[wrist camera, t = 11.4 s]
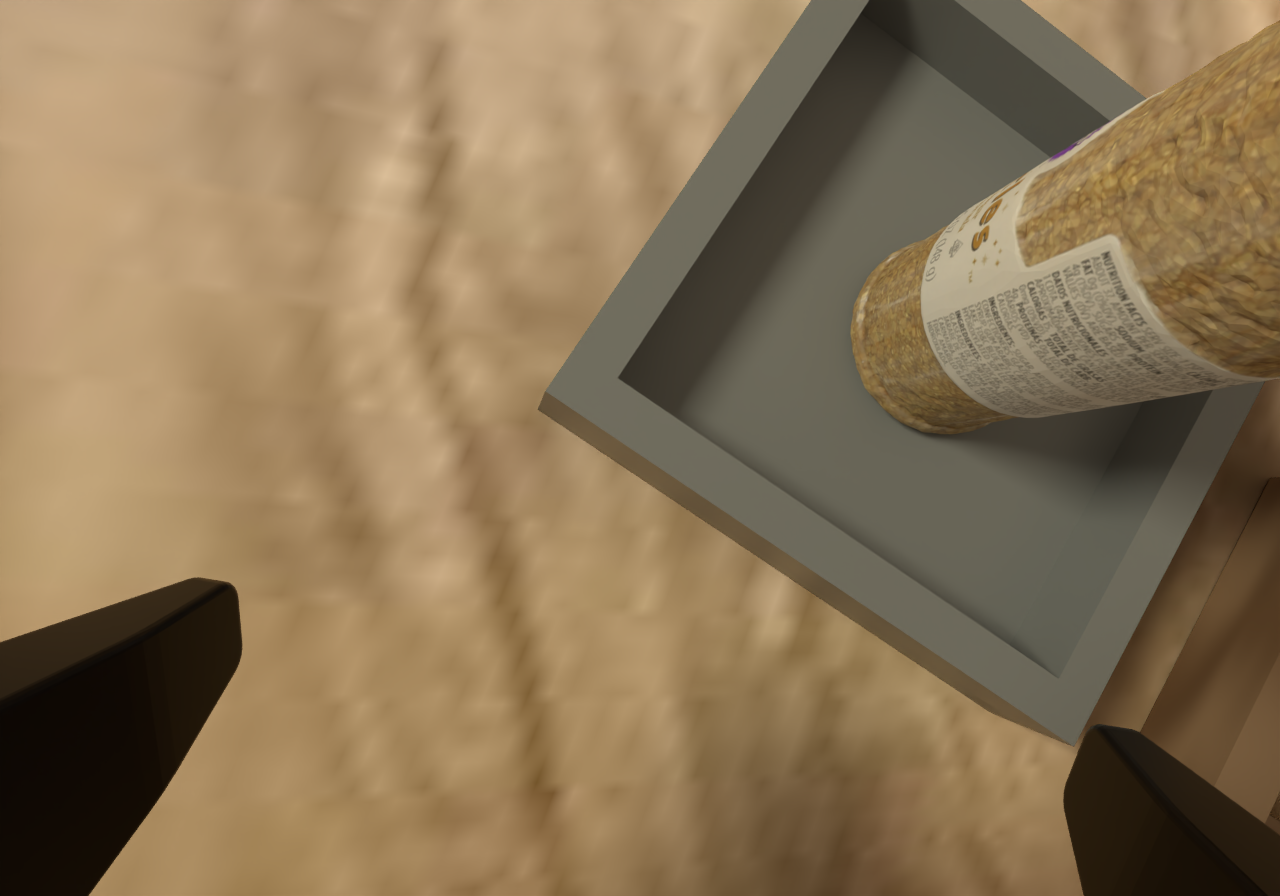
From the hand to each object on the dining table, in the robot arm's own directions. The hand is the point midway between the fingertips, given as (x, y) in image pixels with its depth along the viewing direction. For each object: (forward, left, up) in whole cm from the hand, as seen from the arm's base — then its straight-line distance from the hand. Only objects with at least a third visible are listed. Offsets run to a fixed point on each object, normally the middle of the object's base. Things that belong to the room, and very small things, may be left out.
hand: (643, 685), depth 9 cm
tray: (+10, -4, -10) cm, 14 cm away
